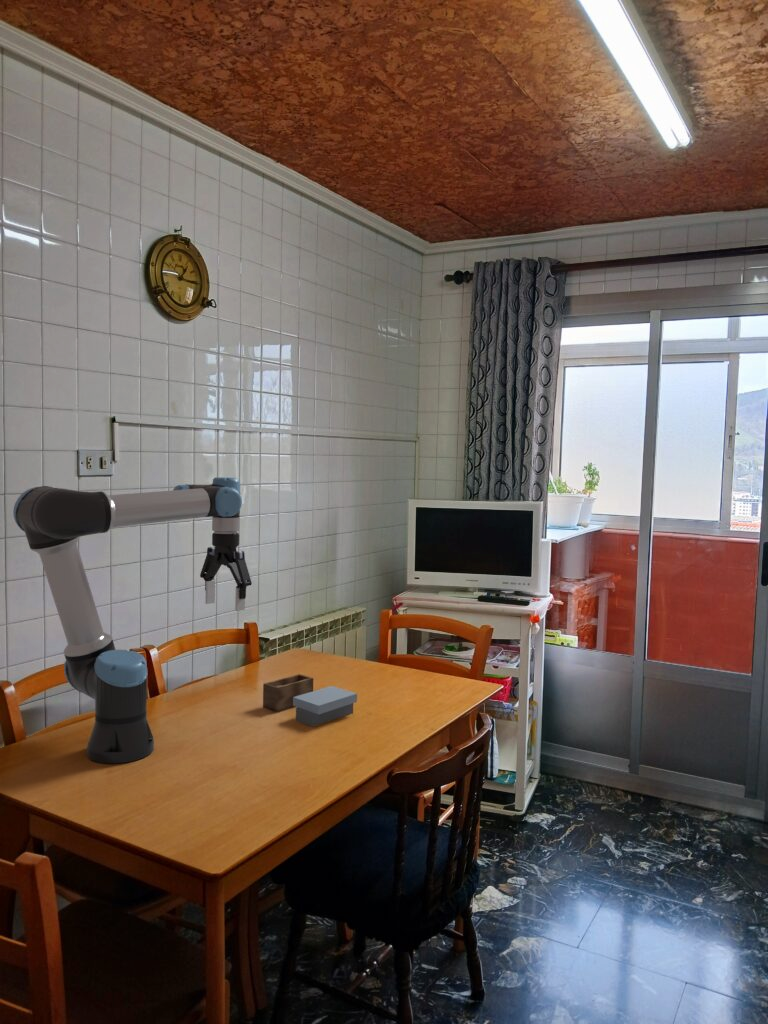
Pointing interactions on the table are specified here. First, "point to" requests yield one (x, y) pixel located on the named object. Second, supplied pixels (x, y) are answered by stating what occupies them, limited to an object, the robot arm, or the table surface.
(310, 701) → the lid
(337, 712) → the block
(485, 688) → the table surface
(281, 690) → the box
